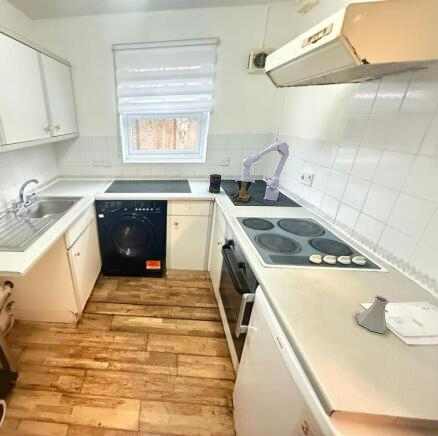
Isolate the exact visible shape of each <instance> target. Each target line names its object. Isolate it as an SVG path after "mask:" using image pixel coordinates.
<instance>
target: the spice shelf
mask: <svg viewBox="0 0 438 436" xmlns="http://www.w3.org/2000/svg"><path fill="white" fill-rule="evenodd" d="M239 193H240V191H239V190H238V191H237V192H236V193H235V194H234V195H233V200H232V201H233V202H237V203H244V204H247V203H248V201H249V200H250V198H251V197H252V195H251V194H247V195H246V196H241V195H239Z"/></svg>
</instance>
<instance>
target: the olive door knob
mask: <svg viewBox="0 0 438 436" xmlns="http://www.w3.org/2000/svg"><path fill="white" fill-rule="evenodd" d="M247 183H248V182H244V181H243V182H241V189H240V193H239V195H241V196H246V195H248V191H246V190H247Z"/></svg>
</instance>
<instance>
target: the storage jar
mask: <svg viewBox="0 0 438 436" xmlns="http://www.w3.org/2000/svg"><path fill="white" fill-rule="evenodd" d="M221 182H222V174H219V173H212V174H210V175H209V186H208V193H210V194H220V193H221Z"/></svg>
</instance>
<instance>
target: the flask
mask: <svg viewBox="0 0 438 436" xmlns="http://www.w3.org/2000/svg"><path fill="white" fill-rule="evenodd" d="M373 299H374V301H373V303H372V304H371V305H370V306H369V307H368V308H367V309H365V310H363V312H361V313H360V314H359V315H358V316H356V320H357V322H358V325H360V326H362V327H364V328H365V329H367V330H368V331H371V332H375V333H380V334H384V333H385V332H386V331H387V330H388V329H387V328H388V327H387V322H386V321H387V320H386V306H387V305H388V304H389V303H390V300H389V299H388V298H386V297H384V296H381V295H375V296H374V298H373Z"/></svg>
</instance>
